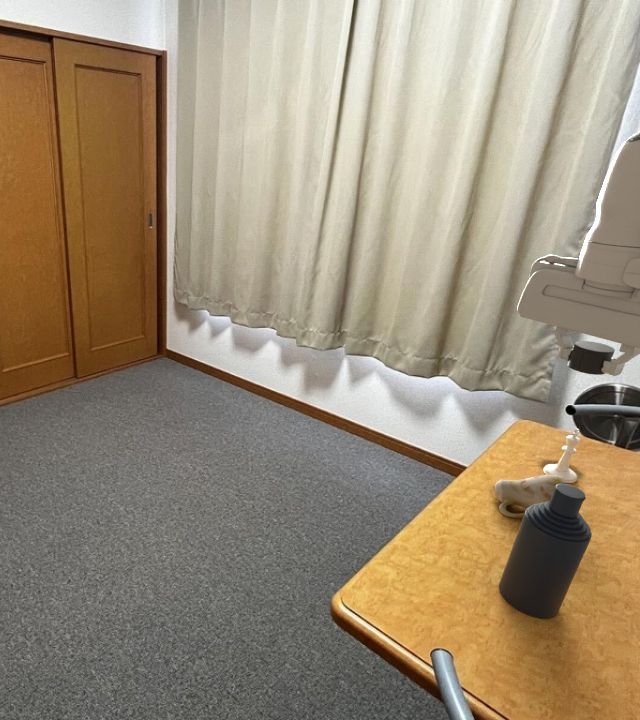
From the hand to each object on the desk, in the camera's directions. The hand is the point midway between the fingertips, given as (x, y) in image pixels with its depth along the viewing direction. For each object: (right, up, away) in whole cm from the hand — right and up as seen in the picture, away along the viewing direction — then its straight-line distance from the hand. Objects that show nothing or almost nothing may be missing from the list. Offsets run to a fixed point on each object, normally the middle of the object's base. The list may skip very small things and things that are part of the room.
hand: (587, 366), depth 65 cm
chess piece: (+16, -21, +24) cm, 36 cm away
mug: (+4, -25, +16) cm, 29 cm away
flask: (-8, -32, 0) cm, 33 cm away
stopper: (0, 0, 0) cm, 0 cm away
